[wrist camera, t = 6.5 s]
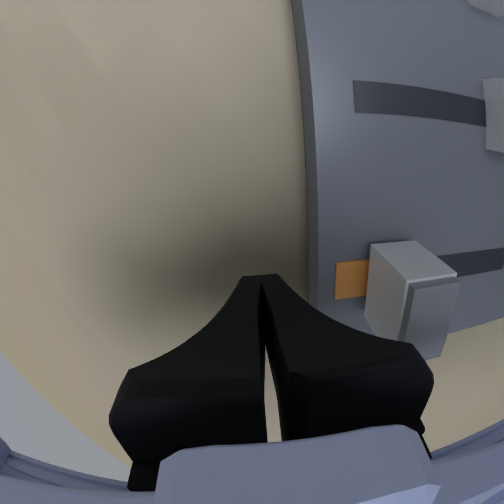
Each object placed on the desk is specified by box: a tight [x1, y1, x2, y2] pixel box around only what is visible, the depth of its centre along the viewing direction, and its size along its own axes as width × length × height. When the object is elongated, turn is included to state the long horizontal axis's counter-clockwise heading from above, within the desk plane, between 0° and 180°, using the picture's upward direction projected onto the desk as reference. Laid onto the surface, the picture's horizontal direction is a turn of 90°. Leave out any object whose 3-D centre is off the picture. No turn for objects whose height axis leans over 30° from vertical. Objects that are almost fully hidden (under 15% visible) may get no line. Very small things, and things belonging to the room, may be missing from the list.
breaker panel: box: [291, 0, 504, 335], centre depth 9 cm, size 16×22×5 cm
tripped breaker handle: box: [364, 240, 461, 360], centre depth 10 cm, size 2×3×3 cm, turn 5°
